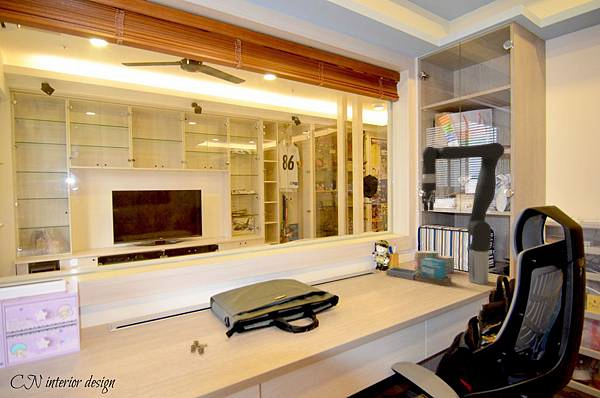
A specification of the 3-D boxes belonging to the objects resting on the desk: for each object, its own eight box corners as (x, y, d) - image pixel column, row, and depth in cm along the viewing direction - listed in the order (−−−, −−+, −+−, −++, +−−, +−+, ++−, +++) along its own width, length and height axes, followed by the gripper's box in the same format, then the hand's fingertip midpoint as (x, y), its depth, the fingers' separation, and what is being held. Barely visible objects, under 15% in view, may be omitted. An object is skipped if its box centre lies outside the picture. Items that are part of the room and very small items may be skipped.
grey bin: (393, 271, 193) (393, 266, 192) (419, 276, 182) (420, 271, 182) (386, 275, 185) (386, 270, 185) (413, 280, 174) (413, 274, 174)
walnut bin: (421, 276, 181) (421, 271, 181) (451, 282, 171) (451, 276, 171) (414, 280, 174) (415, 275, 174) (445, 286, 163) (445, 280, 163)
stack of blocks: (450, 270, 195) (450, 250, 195) (453, 273, 189) (454, 252, 189) (414, 269, 197) (414, 250, 197) (417, 272, 191) (417, 252, 191)
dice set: (202, 354, 98) (202, 348, 98) (187, 353, 98) (187, 347, 98) (210, 346, 103) (210, 340, 103) (195, 345, 103) (195, 339, 103)
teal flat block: (420, 279, 175) (420, 258, 175) (425, 278, 178) (425, 257, 178) (441, 284, 166) (441, 262, 166) (445, 283, 169) (446, 260, 169)
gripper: (431, 182, 171) (431, 211, 172) (440, 182, 182) (439, 210, 183) (417, 182, 176) (417, 211, 177) (426, 182, 187) (426, 209, 188)
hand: (428, 210), depth 180 cm, fingers open, 8 cm apart
